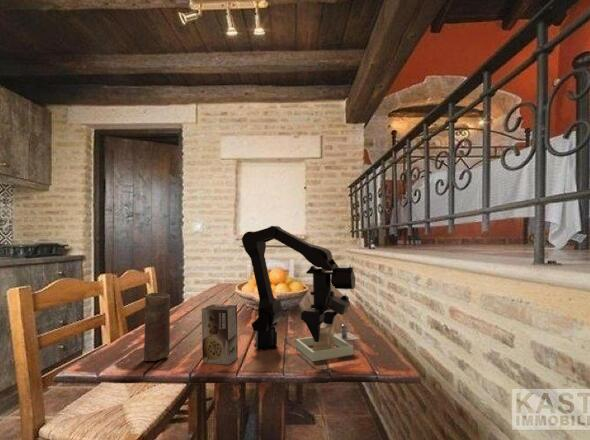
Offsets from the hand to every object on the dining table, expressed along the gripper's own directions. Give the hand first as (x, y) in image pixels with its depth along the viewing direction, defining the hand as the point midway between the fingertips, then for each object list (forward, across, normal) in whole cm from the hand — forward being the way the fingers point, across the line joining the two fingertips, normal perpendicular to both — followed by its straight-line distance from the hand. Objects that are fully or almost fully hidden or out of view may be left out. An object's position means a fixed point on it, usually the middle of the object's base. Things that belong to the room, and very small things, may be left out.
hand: (323, 337), depth 106 cm
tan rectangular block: (+4, 0, 0) cm, 4 cm away
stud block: (+5, +16, -1) cm, 17 cm away
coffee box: (+5, -19, +26) cm, 32 cm away
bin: (+5, 0, 0) cm, 5 cm away
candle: (+5, -27, +44) cm, 52 cm away
